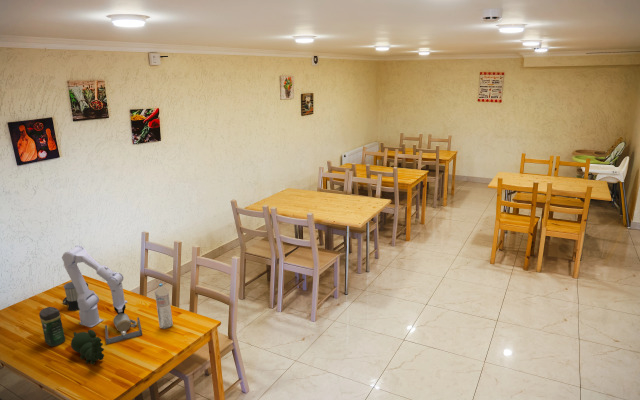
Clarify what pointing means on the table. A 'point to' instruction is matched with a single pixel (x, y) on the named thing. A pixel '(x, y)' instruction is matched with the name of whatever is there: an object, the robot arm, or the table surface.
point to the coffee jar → (52, 326)
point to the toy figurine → (88, 346)
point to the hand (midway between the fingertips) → (121, 317)
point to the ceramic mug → (123, 322)
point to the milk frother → (71, 296)
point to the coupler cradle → (123, 334)
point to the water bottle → (163, 307)
